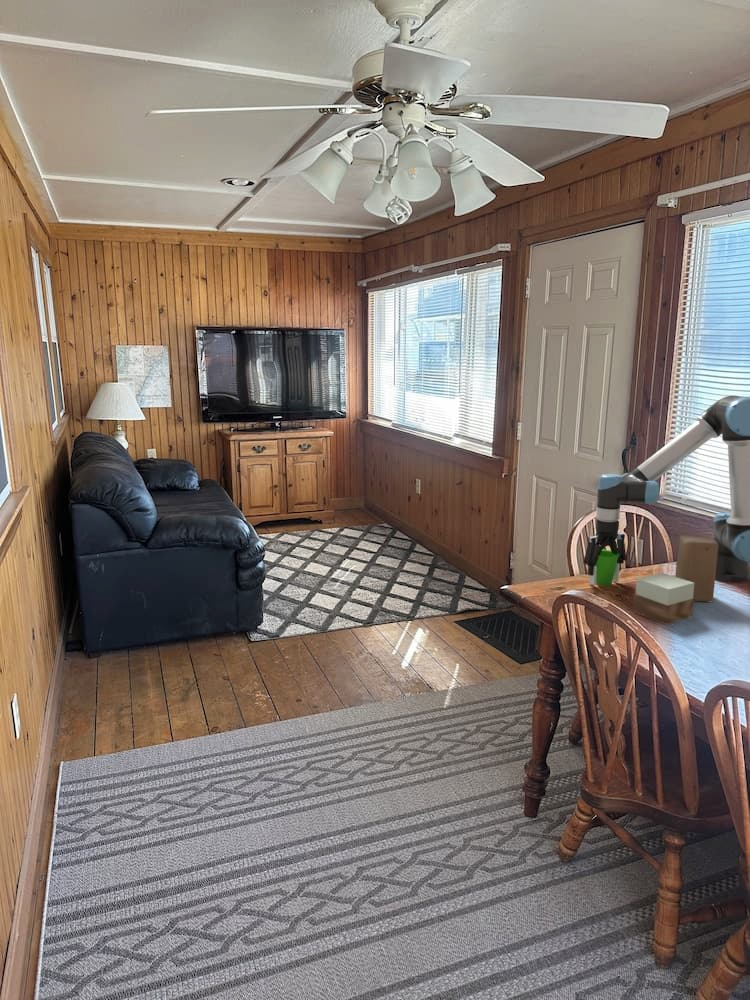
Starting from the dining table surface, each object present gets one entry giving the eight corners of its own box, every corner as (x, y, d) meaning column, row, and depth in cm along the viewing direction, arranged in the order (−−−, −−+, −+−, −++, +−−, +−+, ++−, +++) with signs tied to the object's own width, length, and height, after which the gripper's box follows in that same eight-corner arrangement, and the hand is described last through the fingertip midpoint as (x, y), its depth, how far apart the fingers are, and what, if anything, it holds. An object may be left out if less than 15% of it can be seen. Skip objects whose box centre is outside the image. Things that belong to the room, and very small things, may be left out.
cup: (619, 588, 231) (621, 557, 229) (591, 587, 233) (593, 556, 231) (615, 580, 240) (617, 550, 238) (588, 578, 241) (590, 549, 239)
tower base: (658, 605, 216) (659, 587, 215) (692, 617, 206) (693, 598, 205) (633, 612, 210) (634, 594, 209) (666, 625, 200) (668, 605, 199)
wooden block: (713, 603, 217) (719, 542, 212) (680, 601, 219) (685, 541, 214) (705, 592, 226) (710, 534, 222) (673, 591, 228) (678, 533, 224)
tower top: (660, 587, 215) (661, 572, 213) (692, 598, 205) (694, 582, 204) (635, 594, 209) (636, 578, 208) (667, 605, 199) (668, 589, 198)
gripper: (625, 514, 239) (621, 575, 243) (574, 520, 231) (571, 582, 236) (640, 518, 232) (636, 581, 237) (588, 524, 224) (584, 589, 229)
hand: (603, 582), depth 236 cm, fingers closed on cup, 9 cm apart
